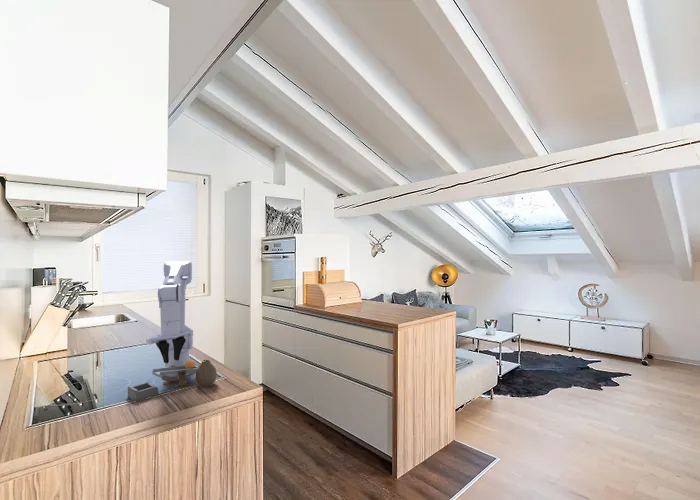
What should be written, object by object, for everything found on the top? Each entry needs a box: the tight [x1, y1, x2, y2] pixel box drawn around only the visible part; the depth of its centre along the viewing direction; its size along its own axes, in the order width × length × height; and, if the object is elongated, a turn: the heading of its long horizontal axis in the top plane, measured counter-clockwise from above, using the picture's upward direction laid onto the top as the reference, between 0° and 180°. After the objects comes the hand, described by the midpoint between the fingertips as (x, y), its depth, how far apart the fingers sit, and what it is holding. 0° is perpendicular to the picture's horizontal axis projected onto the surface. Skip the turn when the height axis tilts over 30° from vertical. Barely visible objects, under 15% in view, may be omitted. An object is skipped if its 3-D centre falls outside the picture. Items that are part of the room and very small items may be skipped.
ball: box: [185, 359, 196, 369], centre depth 130 cm, size 4×4×4 cm
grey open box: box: [127, 381, 159, 403], centre depth 117 cm, size 7×7×4 cm
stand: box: [163, 366, 192, 391], centre depth 126 cm, size 10×5×6 cm, turn 51°
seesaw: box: [151, 365, 199, 382], centre depth 123 cm, size 14×15×2 cm
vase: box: [195, 359, 218, 388], centre depth 125 cm, size 7×7×9 cm
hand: (171, 361), depth 120 cm, fingers open, 3 cm apart
